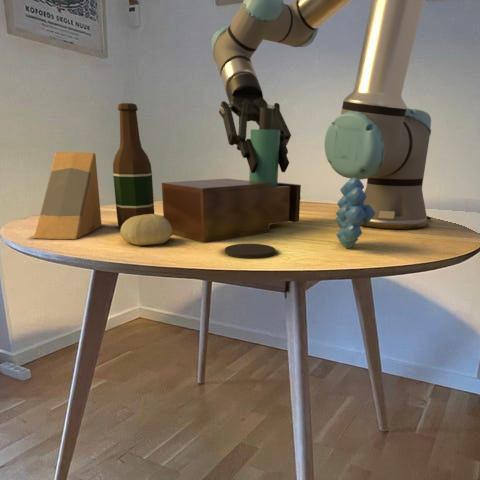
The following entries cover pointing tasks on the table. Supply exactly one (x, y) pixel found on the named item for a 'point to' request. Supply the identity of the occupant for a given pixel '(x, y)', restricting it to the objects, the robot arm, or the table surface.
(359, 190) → the grapes
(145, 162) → the beer bottle
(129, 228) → the sea urchin shell
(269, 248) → the mat
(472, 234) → the table surface
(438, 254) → the table surface
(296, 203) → the drawer
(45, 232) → the sandwich container
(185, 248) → the table surface
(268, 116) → the soap bottle
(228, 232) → the cabinet
